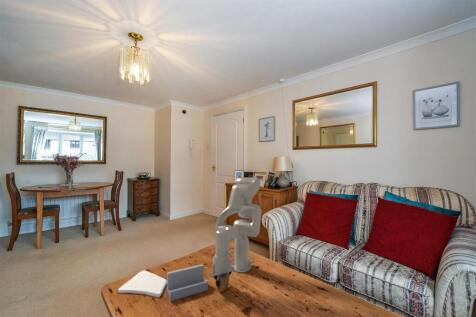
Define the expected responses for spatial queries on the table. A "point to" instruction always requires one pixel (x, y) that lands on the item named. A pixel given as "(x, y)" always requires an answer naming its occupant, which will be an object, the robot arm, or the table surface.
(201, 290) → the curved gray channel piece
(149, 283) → the flat white fragment
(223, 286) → the brown block
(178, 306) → the table surface
